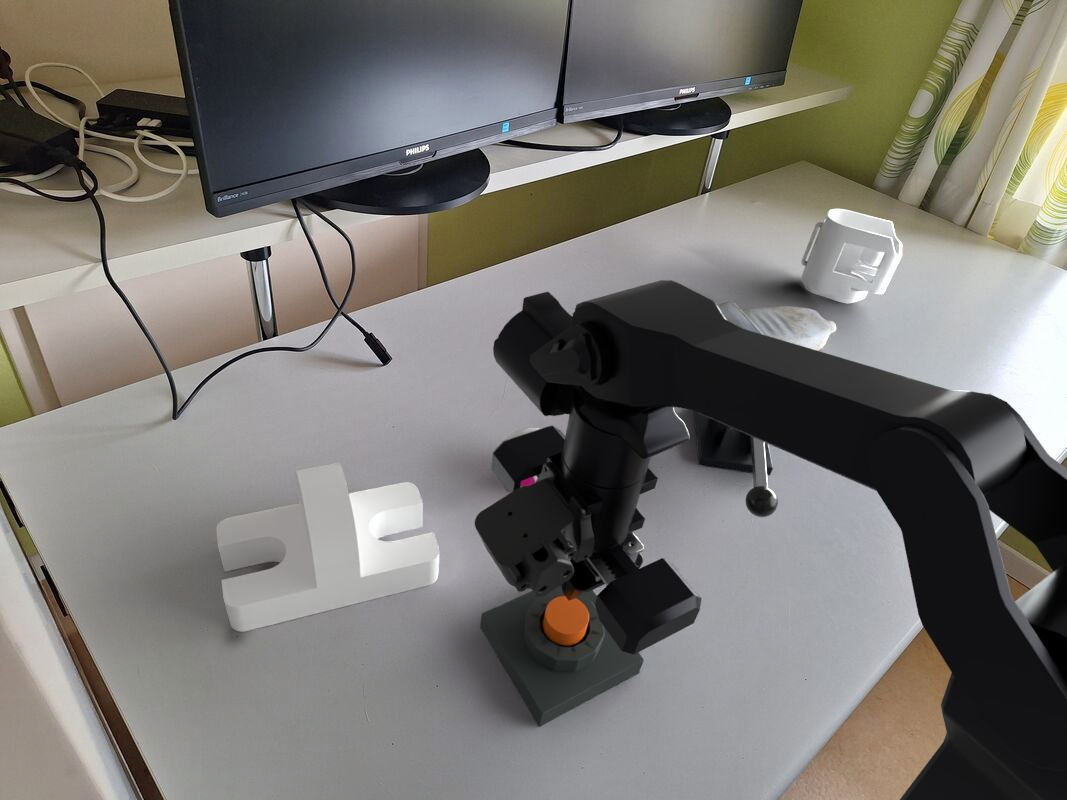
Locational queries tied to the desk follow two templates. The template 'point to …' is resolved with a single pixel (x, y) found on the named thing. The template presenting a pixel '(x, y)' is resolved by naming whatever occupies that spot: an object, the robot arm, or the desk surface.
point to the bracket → (725, 446)
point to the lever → (760, 483)
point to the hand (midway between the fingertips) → (571, 595)
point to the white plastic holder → (850, 256)
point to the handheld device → (782, 323)
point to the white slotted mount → (324, 550)
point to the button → (565, 621)
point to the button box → (555, 656)
